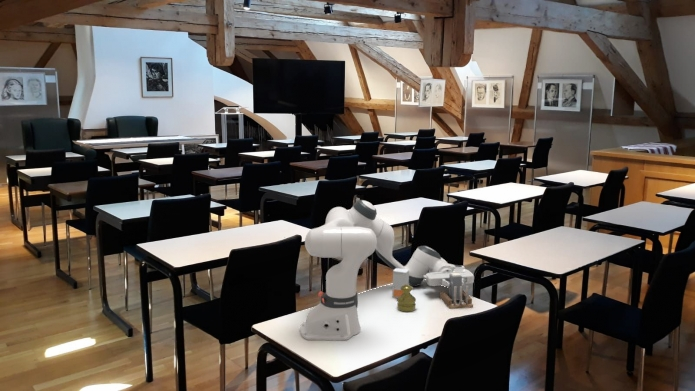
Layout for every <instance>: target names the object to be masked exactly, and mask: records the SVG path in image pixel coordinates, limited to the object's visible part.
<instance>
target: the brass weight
mask: <svg viewBox="0 0 695 391" xmlns="http://www.w3.org/2000/svg"><path fill="white" fill-rule="evenodd" d="M413 287H414V286H413V285H410V284H409V285H403V286H401V290H402V291H403V294H401V295H400V296H399V297H398V298H397V303H396V304H397V310H399V311H400V312H405V313H406V312H407V313H409V312H413V311H415V310H416V300H417V298H416V297H415V296H414V295H413V294H412V293H411V291H414V290H413V289H414V288H413Z"/></svg>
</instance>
